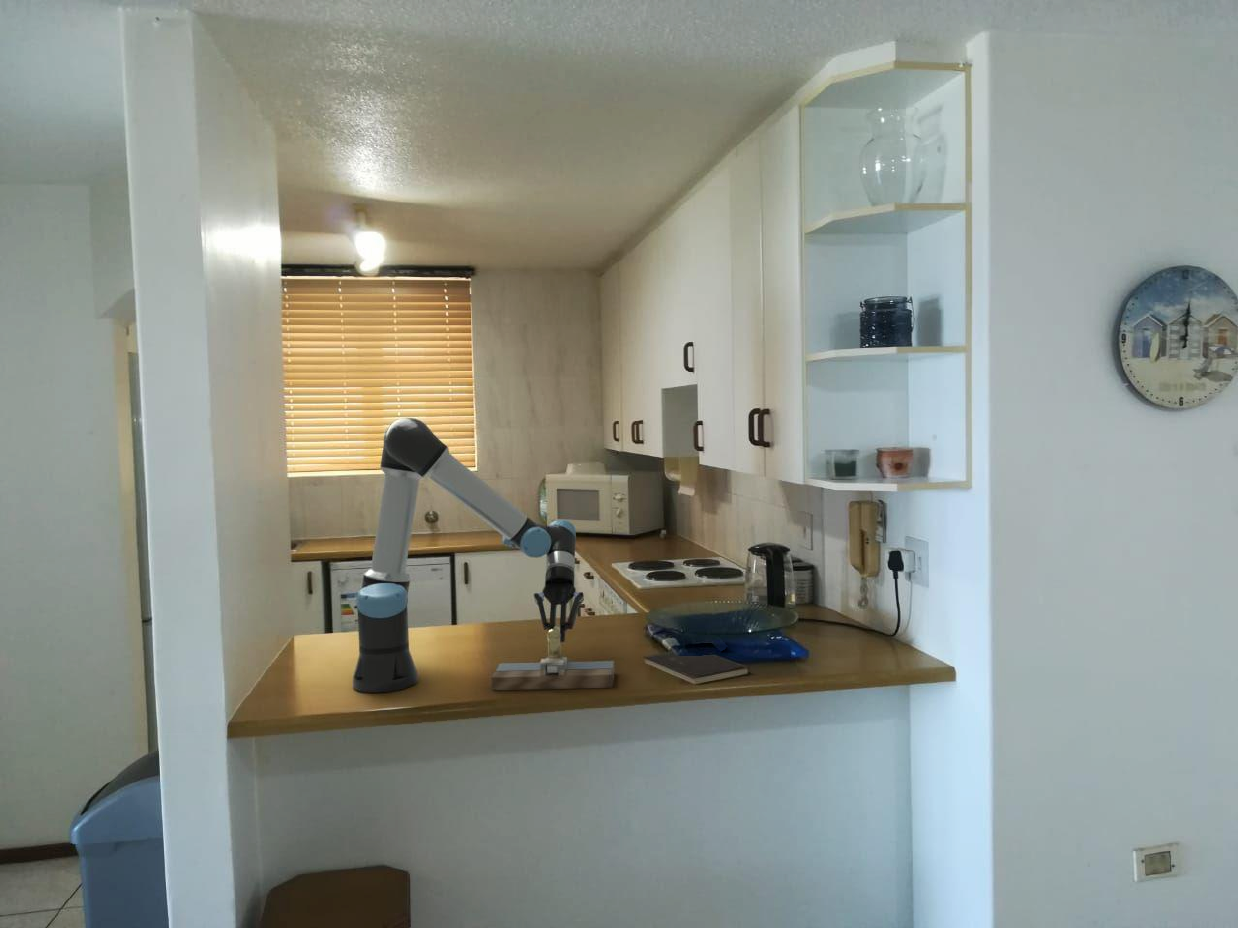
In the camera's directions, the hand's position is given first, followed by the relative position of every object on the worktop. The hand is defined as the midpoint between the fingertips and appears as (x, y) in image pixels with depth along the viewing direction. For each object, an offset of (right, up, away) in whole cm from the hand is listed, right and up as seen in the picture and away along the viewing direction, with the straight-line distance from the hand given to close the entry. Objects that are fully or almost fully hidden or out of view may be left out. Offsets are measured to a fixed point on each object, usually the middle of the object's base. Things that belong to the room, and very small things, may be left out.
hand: (556, 652), depth 214 cm
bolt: (0, -3, -5) cm, 5 cm away
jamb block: (0, -6, -7) cm, 9 cm away
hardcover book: (+34, -6, +4) cm, 35 cm away
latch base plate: (0, -6, -1) cm, 6 cm away
